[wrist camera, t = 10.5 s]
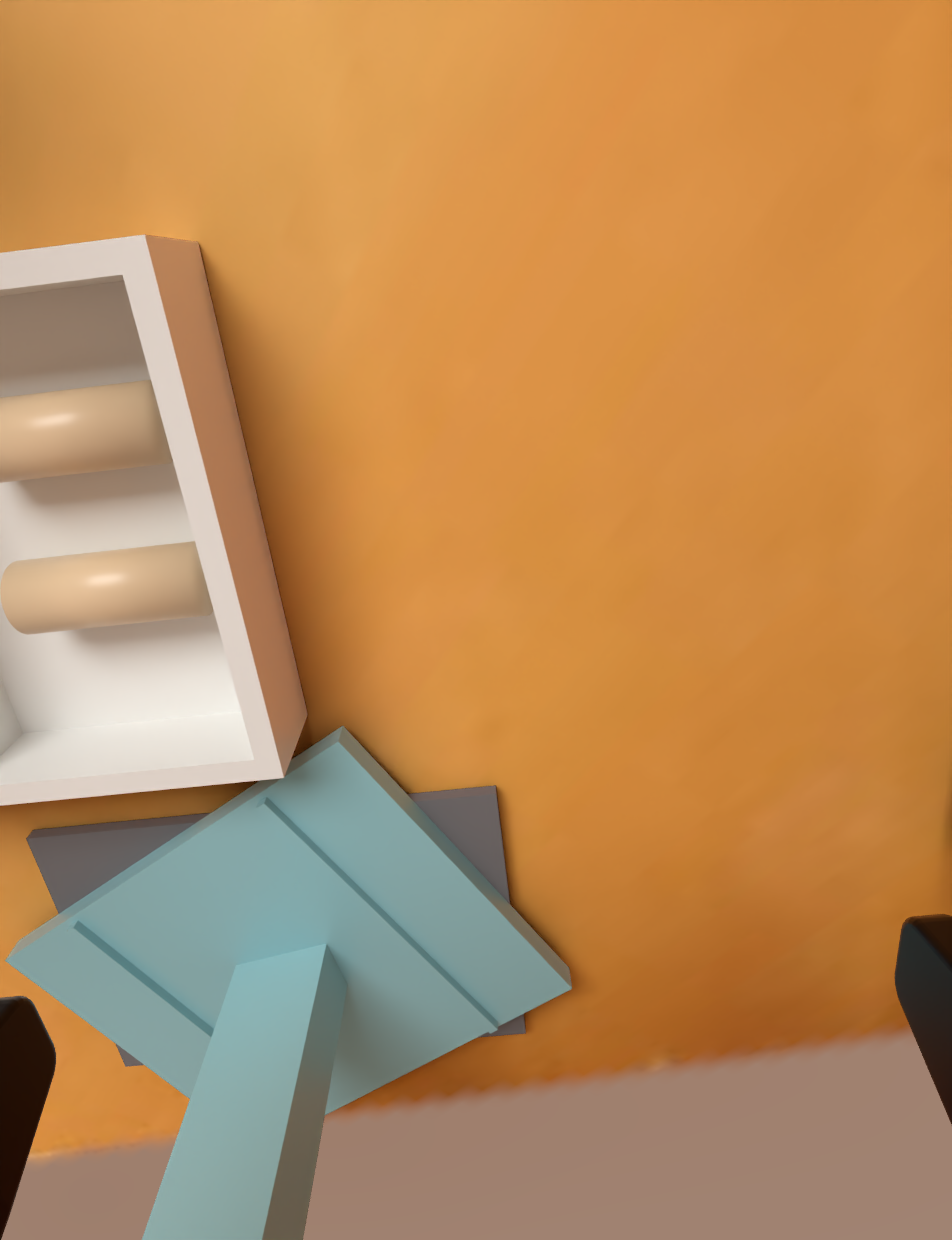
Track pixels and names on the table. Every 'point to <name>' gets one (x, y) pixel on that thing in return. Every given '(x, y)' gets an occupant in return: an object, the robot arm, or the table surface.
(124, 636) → the tub
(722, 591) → the table surface
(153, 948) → the lid
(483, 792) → the mat
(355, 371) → the table surface
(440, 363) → the table surface
